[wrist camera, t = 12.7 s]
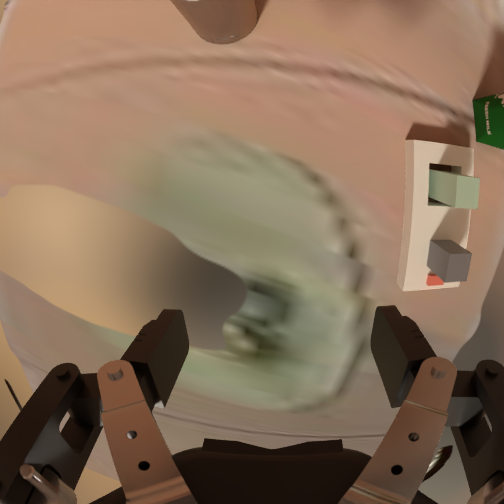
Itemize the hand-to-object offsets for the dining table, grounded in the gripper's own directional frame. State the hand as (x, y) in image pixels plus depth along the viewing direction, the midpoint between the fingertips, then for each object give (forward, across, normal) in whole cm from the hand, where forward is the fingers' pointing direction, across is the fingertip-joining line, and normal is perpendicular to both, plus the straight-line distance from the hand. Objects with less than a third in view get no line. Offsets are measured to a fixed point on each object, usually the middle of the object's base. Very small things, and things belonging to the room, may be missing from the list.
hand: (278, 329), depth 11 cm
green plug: (+30, -24, -3) cm, 39 cm away
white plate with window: (+30, -24, +2) cm, 38 cm away
